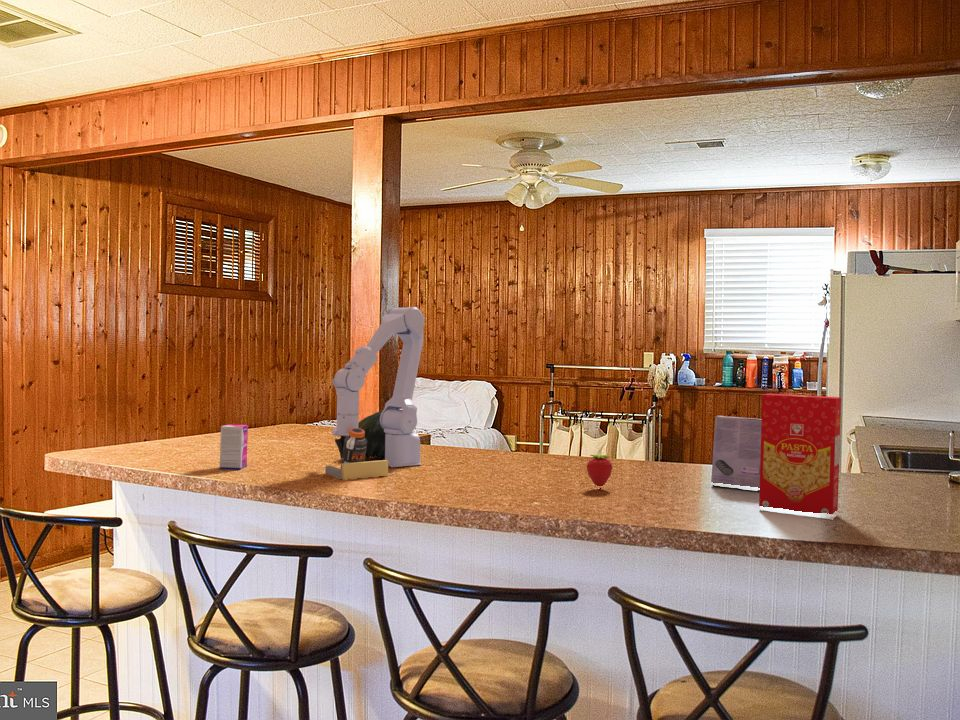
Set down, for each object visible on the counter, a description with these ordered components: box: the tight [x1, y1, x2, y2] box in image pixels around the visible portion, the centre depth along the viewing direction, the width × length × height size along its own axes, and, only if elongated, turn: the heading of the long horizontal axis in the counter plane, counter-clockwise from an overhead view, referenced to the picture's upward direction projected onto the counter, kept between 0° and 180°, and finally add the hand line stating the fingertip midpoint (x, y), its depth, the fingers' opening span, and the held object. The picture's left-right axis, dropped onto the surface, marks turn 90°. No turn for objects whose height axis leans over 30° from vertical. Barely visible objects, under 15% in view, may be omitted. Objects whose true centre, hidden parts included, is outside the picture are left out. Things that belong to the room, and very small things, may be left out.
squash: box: [358, 410, 385, 460], centre depth 238 cm, size 14×15×15 cm
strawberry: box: [586, 449, 613, 487], centre depth 195 cm, size 6×8×10 cm
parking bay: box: [324, 459, 389, 481], centre depth 209 cm, size 12×11×4 cm
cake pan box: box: [710, 415, 762, 488], centre depth 198 cm, size 19×5×18 cm, turn 59°
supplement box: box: [219, 423, 249, 471], centre depth 216 cm, size 6×6×12 cm
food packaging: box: [758, 393, 842, 514], centre depth 171 cm, size 15×5×25 cm, turn 56°
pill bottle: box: [340, 428, 367, 470], centre depth 210 cm, size 6×6×11 cm
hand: (346, 465), depth 213 cm, fingers closed, pressing on pill bottle
